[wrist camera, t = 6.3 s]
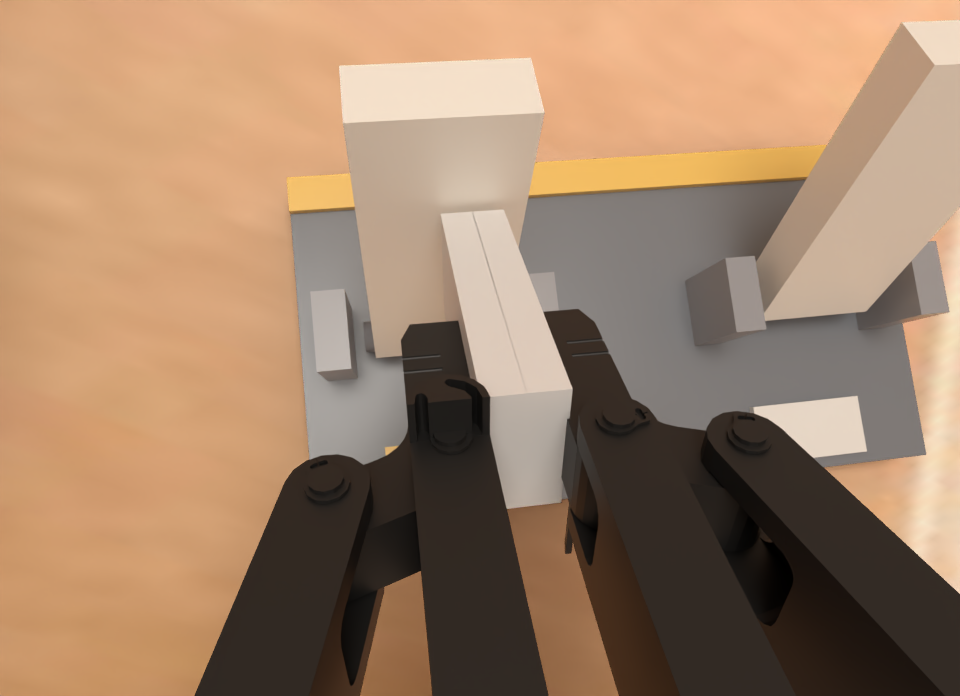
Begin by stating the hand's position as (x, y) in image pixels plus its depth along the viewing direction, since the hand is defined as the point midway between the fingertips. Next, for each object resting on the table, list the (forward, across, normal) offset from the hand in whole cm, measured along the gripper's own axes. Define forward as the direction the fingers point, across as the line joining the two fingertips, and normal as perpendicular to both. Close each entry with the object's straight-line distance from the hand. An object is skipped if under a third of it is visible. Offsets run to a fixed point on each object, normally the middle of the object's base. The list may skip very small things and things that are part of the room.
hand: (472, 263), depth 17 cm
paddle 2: (+4, +12, -5) cm, 14 cm away
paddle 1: (+4, -1, -5) cm, 6 cm away
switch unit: (+7, +6, -7) cm, 11 cm away
